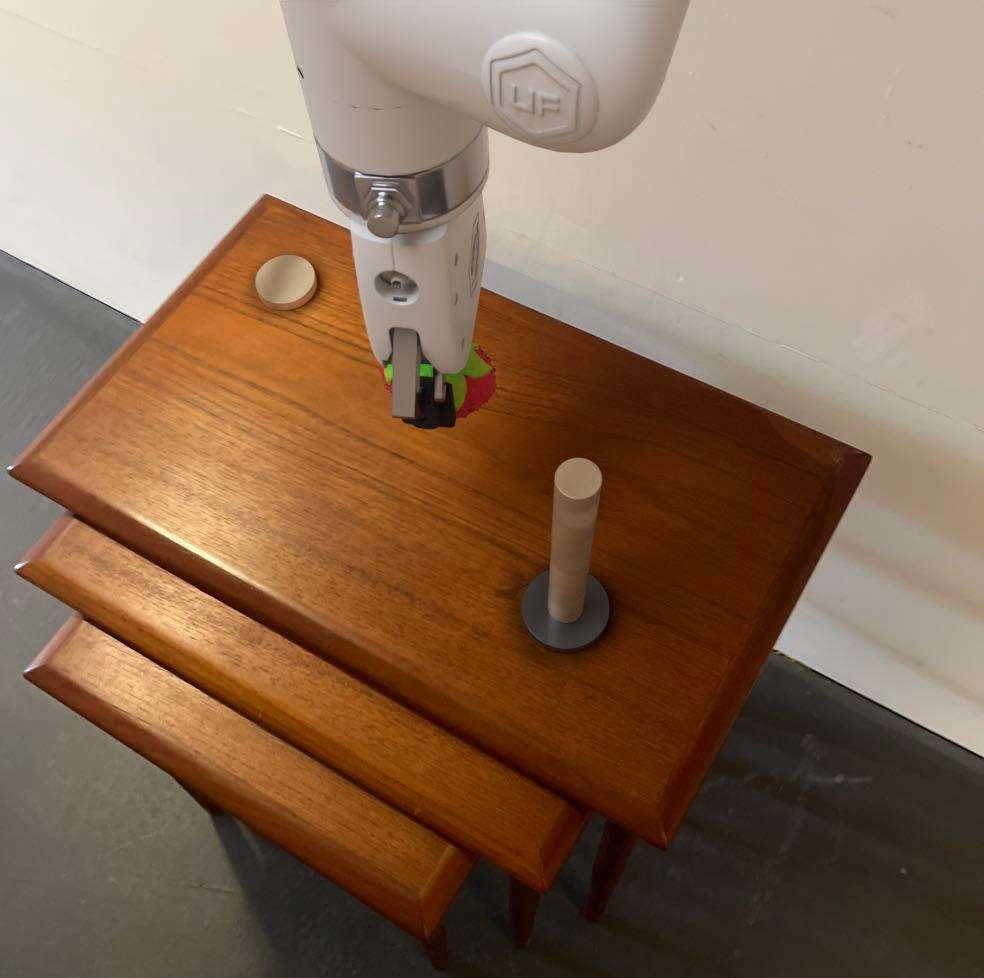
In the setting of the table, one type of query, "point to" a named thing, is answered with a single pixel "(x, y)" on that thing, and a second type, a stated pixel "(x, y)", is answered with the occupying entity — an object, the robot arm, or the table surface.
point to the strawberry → (462, 381)
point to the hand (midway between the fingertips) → (437, 371)
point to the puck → (286, 282)
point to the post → (569, 567)
